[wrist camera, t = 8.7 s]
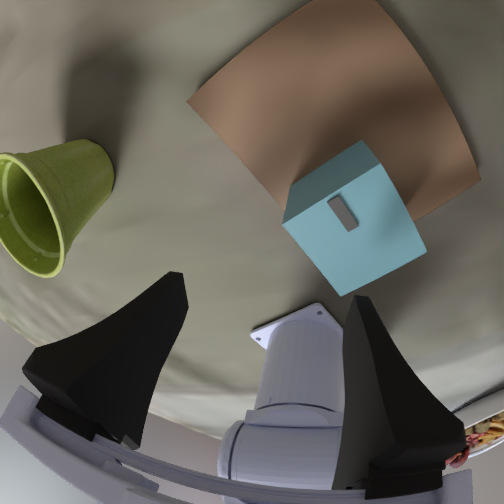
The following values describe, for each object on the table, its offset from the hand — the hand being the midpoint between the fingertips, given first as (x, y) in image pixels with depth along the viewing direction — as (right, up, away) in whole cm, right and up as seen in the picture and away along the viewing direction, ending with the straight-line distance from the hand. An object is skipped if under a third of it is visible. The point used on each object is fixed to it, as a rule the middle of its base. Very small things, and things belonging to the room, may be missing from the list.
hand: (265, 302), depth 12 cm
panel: (+5, +10, +4) cm, 12 cm away
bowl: (+45, -30, +23) cm, 59 cm away
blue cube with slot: (+5, +6, +5) cm, 9 cm away
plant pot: (-14, +9, +9) cm, 19 cm away
